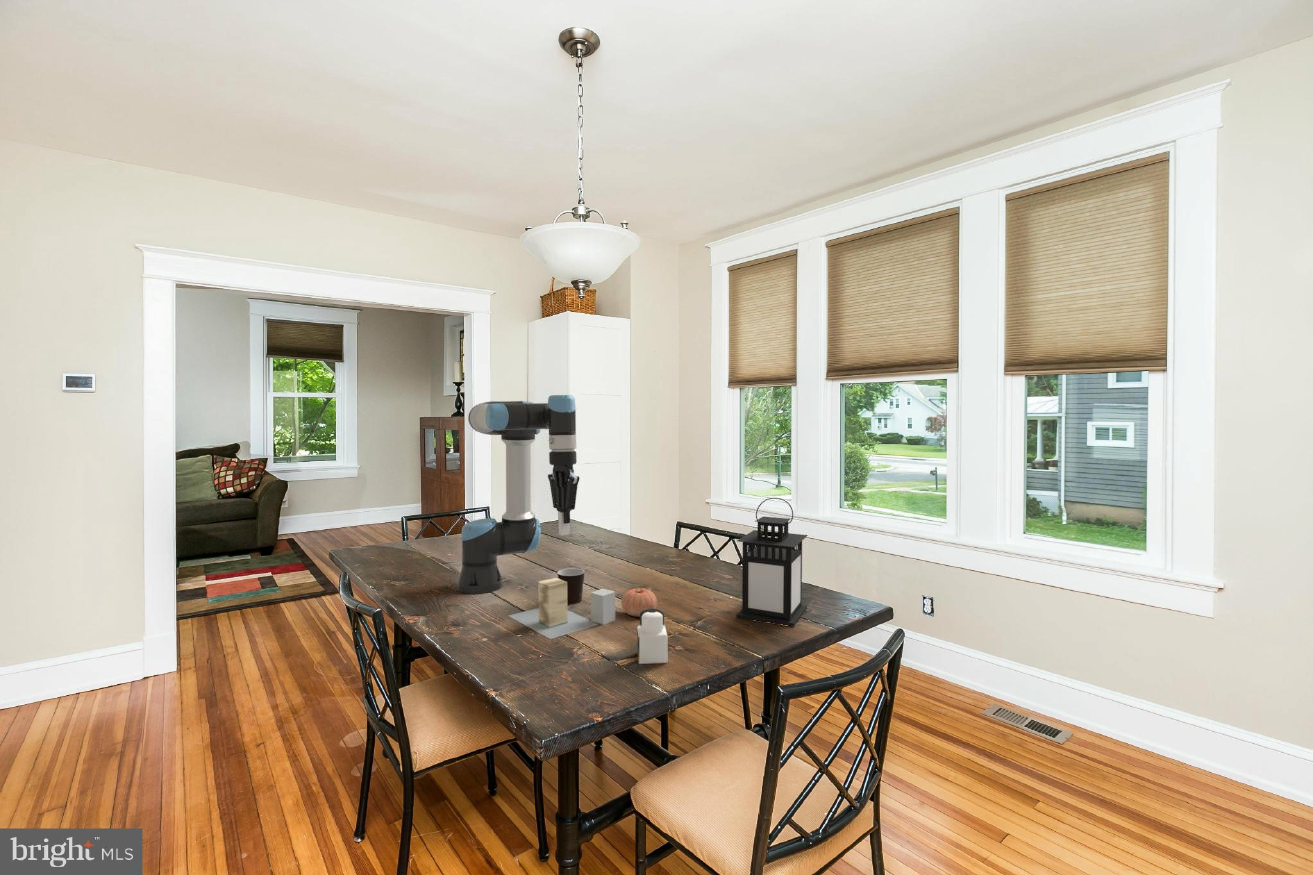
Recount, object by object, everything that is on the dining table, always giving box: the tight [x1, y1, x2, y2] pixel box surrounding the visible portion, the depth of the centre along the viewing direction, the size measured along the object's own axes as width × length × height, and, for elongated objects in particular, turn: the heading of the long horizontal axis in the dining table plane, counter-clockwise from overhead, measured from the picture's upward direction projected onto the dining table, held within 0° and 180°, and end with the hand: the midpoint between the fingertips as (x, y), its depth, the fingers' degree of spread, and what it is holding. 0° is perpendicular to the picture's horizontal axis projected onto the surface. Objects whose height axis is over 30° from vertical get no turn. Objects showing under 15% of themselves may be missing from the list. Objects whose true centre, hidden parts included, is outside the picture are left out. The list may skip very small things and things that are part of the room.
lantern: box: [735, 497, 809, 627], centre depth 184 cm, size 17×17×35 cm
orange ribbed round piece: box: [620, 587, 658, 618], centre depth 184 cm, size 11×11×8 cm
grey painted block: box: [590, 588, 616, 625], centre depth 178 cm, size 5×5×9 cm
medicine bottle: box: [636, 608, 669, 665], centre depth 153 cm, size 7×7×12 cm
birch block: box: [537, 577, 569, 628], centre depth 176 cm, size 6×6×12 cm
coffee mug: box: [557, 567, 586, 605], centre depth 197 cm, size 12×9×10 cm
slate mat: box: [508, 607, 600, 640], centre depth 178 cm, size 24×16×1 cm, turn 41°
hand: (564, 534), depth 171 cm, fingers closed
